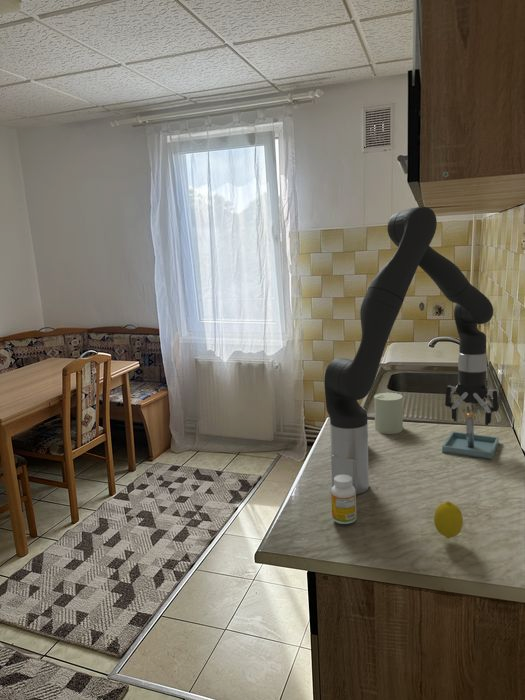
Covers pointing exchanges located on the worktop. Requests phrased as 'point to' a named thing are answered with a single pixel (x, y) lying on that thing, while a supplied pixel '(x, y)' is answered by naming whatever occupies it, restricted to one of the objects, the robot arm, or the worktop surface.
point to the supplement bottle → (343, 500)
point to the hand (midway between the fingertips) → (471, 422)
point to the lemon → (448, 519)
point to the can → (388, 413)
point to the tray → (481, 449)
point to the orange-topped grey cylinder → (470, 429)
